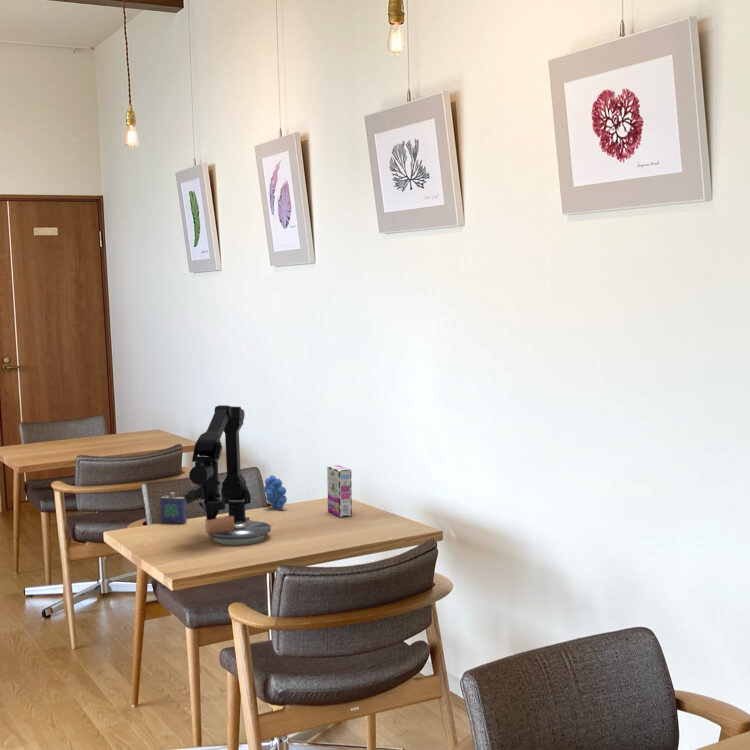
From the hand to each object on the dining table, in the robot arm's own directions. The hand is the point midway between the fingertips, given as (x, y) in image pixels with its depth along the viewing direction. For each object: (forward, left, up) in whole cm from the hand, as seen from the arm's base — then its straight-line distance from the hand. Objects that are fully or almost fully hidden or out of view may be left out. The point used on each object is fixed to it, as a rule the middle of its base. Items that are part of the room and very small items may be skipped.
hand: (210, 526), depth 309 cm
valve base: (-5, +8, -5) cm, 10 cm away
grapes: (-47, +2, -5) cm, 47 cm away
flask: (-19, -23, -5) cm, 30 cm away
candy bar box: (-45, +28, -5) cm, 53 cm away
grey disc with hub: (-4, +7, -2) cm, 9 cm away
